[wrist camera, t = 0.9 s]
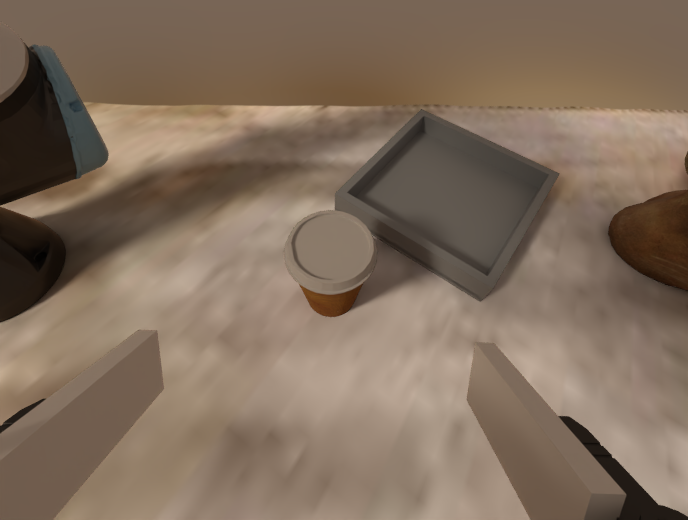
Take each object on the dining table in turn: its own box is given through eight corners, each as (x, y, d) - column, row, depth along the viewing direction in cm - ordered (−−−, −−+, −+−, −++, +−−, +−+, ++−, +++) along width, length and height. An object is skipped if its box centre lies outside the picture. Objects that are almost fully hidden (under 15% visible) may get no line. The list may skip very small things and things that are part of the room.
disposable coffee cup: (382, 303, 42) (398, 256, 32) (319, 344, 40) (314, 306, 29) (341, 251, 46) (343, 193, 36) (281, 284, 43) (265, 232, 33)
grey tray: (334, 211, 50) (334, 193, 46) (416, 128, 60) (421, 109, 56) (480, 301, 43) (492, 288, 39) (544, 191, 53) (559, 173, 49)
